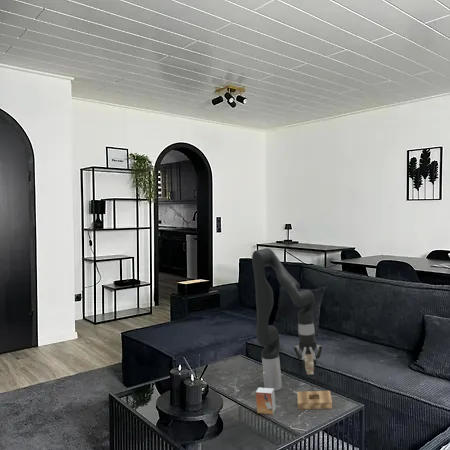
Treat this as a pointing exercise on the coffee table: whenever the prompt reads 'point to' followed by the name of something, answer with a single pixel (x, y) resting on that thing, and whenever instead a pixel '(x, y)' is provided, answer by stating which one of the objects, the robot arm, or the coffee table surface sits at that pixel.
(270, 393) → the small box
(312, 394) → the oak board
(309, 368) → the ash peg
